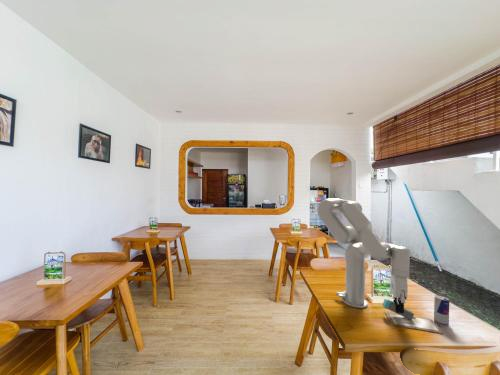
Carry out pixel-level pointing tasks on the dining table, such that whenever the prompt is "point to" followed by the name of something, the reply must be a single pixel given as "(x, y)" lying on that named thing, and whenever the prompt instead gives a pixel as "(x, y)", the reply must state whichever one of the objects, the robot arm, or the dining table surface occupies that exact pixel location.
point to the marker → (392, 307)
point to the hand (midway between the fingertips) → (398, 310)
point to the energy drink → (441, 310)
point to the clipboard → (413, 323)
